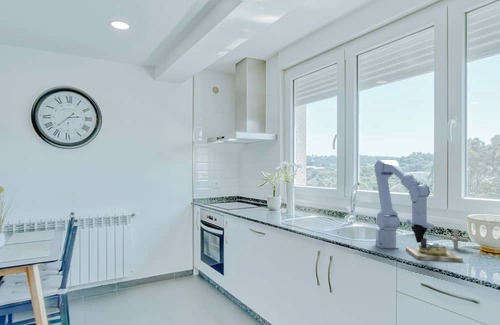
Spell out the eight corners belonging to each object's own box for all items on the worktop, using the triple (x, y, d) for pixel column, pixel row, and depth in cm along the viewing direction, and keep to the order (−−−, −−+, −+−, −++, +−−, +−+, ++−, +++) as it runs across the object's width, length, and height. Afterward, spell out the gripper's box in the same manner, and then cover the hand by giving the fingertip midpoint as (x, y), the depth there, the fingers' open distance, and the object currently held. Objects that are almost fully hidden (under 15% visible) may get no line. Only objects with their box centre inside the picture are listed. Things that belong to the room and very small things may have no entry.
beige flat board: (417, 259, 137) (417, 255, 137) (405, 250, 153) (405, 246, 153) (462, 262, 134) (462, 258, 134) (446, 252, 150) (446, 248, 150)
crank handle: (424, 248, 151) (424, 232, 151) (450, 252, 143) (450, 236, 143) (409, 253, 142) (409, 236, 142) (436, 258, 133) (436, 240, 133)
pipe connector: (445, 245, 163) (445, 226, 164) (468, 248, 157) (468, 228, 157) (442, 249, 156) (442, 229, 156) (466, 252, 149) (466, 231, 150)
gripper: (400, 209, 147) (400, 239, 146) (422, 214, 132) (422, 246, 132) (414, 209, 148) (414, 238, 148) (437, 213, 134) (437, 246, 133)
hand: (419, 242), depth 140 cm, fingers closed
